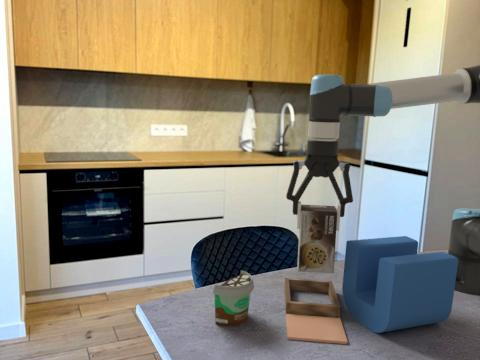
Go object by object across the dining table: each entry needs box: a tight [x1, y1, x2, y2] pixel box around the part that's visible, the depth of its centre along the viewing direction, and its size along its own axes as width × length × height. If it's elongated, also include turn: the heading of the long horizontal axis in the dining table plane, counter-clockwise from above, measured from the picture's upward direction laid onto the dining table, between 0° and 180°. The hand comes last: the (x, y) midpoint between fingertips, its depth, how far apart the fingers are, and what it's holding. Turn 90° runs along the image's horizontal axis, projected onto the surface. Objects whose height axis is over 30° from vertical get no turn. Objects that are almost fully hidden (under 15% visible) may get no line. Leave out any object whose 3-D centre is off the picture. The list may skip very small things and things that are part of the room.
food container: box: [212, 269, 255, 327], centre depth 107 cm, size 12×6×10 cm, turn 148°
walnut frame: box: [283, 277, 341, 319], centre depth 119 cm, size 13×16×3 cm
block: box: [342, 235, 458, 334], centre depth 111 cm, size 18×18×18 cm
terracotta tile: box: [285, 313, 349, 345], centre depth 105 cm, size 13×11×1 cm
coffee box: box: [297, 204, 338, 274], centre depth 117 cm, size 9×6×16 cm
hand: (317, 228), depth 116 cm, fingers closed on coffee box, 9 cm apart
